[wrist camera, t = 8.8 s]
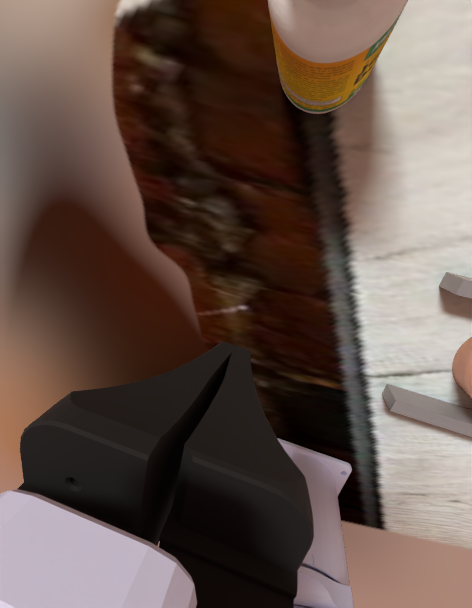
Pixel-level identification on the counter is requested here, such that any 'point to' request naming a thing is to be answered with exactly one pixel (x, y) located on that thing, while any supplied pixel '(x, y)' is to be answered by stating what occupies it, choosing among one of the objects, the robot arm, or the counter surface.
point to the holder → (427, 406)
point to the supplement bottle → (329, 47)
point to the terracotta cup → (464, 367)
